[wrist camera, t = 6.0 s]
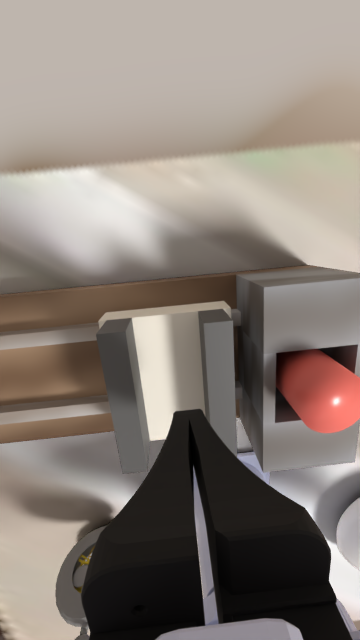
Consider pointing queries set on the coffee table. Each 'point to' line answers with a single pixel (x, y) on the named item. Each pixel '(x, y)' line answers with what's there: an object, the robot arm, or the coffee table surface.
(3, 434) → the rail board
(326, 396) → the button
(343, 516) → the flower in vase
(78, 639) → the pocket watch
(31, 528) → the coffee table surface
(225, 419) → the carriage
